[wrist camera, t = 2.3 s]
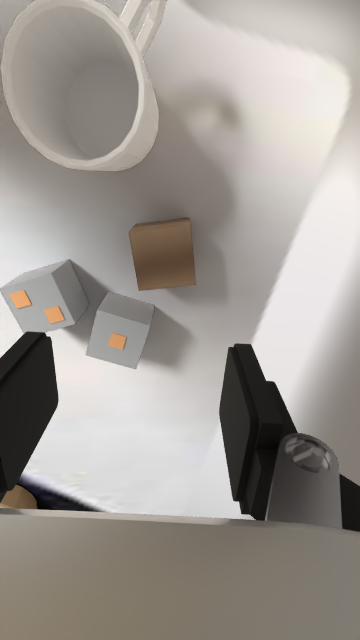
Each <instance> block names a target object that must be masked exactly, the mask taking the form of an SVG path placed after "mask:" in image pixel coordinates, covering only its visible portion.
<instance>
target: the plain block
mask: <svg viewBox="0 0 360 640" xmlns="http://www.w3.org/2000/svg"><path fill="white" fill-rule="evenodd" d="M129 237H130V243H131V248H132V254H133V260H134V266H135V271H136V277H137V283H138V289H139V291H142V290H152V289H161V288H171V287H180V286H190V285H196V280H195V269H194V258H193V248H192V237H191V226H190V220H189V218H183V219H174V220H165V221H157V222H148V223H139V224H136V225H135V226H134V227H133V228H132V229H131V231H130V232H129Z"/></svg>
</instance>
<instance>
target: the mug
mask: <svg viewBox="0 0 360 640" xmlns="http://www.w3.org/2000/svg"><path fill="white" fill-rule="evenodd" d="M150 1H151V0H128V1H127V3H126V5H125V7H124V9H123V11H122V13H121V15H120V17H119V18H118V17H117V16H116V15H115V14H114V13H113V12H112V11H111V10H110V9H109V7H107V6H105V5H103V4H101V3H99V2H97V1H96V0H34V1H33V2H32V3H30V4H29V5H28V6H27V7H26V8H25V9H24V10H23V11H22V12H21V13H19V14H18V15H17V16H16V18H15V20H14V22H13V24H12V26H11V28H10V30H9V32H8V34H7V36H6V38H5V41H4V47H3V54H2V61H1V76H2V84H3V92H4V97H5V100H6V103H7V105H8V108H9V110H10V113H11V116H12V118H13V121H14V123H15V124H16V125H17V127H18V128H19V130H20V131H21V133H22V134H23V135H24V137H25V138H26V140H27V141H28V143H29V144H30V145H32V146H33V147H34V148H35V149H36V150H37V151H39V152H40V153H41V154H42V155H43V156H45V157H46V158H47V159H48V160H51V161H53V162H55V163H57V164H60V165H62V166H64V167H66V168H70V169H80V170H93V171H121V170H125V169H129V168H132V167H133V166H135V165H136V164H138V163H139V162H141V161H142V160H143V159H144V158H145V157H146V155H147V154H148V153H149V151H150V150H151V149H152V147H153V145H154V142H155V139H156V136H157V133H158V124H159V110H158V106H157V101H156V97H155V93H154V90H153V87H152V84H151V81H150V78H149V75H148V72H147V69H146V66H145V62H144V59H143V56H144V55H145V53H146V51H147V49H148V48H149V46H150V43H151V41H152V39H153V37H154V35H155V33H156V31H157V29H158V27H159V25H160V23H161V20H162V16H163V13H164V9H165V5H166V2H167V0H152V1H151V6H150V10H149V12H148V15H147V17H146V19H145V21H144V24H143V26H142V28H141V30H140V32H139V35H138V37H137V39H136V40H134V38H133V37H132V35H131V34H132V32H133V30H134V28H135V26H136V24H137V22H138V20H139V19H140V17H141V15H142V13H143V11H144V9H145V8H146V7H147V5H148V4H149V3H150Z"/></svg>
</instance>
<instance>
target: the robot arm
mask: <svg viewBox="0 0 360 640" xmlns="http://www.w3.org/2000/svg"><path fill="white" fill-rule="evenodd" d="M57 405H58V390H57V382H56V374H55V365H54V357H53V349H52V341H51V338H50V337H48V336H46V334H45V333H44V332H31V331H27V332H25V333H24V334H23V336H22V337H21V338H20V339H19V340H18V341H17V342H16V343H15V344H14V345H13V346H12V347H11V348H10V349H9V350H8V351H7V352H6V353H5V354H4V355H3V356H2V357H1V358H0V503H1V502H2V500H3V498H4V496H5V494H6V493H7V491H11V490H13V489H14V487H15V485H16V484H17V482H18V480H19V478H20V476H21V474H22V472H23V470H24V468H25V467H26V465H27V463H28V461H29V459H30V457H31V455H32V453H33V451H34V450H35V448H36V446H37V444H38V442H39V440H40V438H41V436H42V435H43V433H44V431H45V429H46V427H47V425H48V423H49V421H50V419H51V418H52V416H53V414H54V412H55V410H56V408H57ZM219 415H220V422H221V428H222V435H223V441H224V447H225V453H226V459H227V466H228V472H229V478H230V485H231V490H232V497H233V501H239V503H240V509H241V514H249V515H251V516H252V517H253V518H254V519H256V520H244V519H227V518H206V517H187V516H168V515H148V514H127V513H105V512H83V511H60V510H37V509H13V508H0V640H360V486H358V485H357V484H355V483H354V482H352V481H350V480H349V479H347V478H346V477H344V476H342V475H341V474H339V464H338V460H337V457H336V455H335V454H334V452H333V451H332V449H330V448H329V447H328V446H327V445H326V444H325V443H323V442H322V441H321V440H319V439H317V438H315V437H312V436H310V435H306V434H302V433H298V432H297V430H296V428H295V426H294V423H293V421H292V419H291V417H290V415H289V412H288V410H287V408H286V406H285V403H284V401H283V399H282V397H281V395H280V393H279V390H278V388H277V386H276V384H275V383H274V382H272V381H266V380H265V377H264V375H263V372H262V370H261V367H260V365H259V362H258V360H257V358H256V355H255V353H254V350H253V348H252V346H251V344H236V343H235V344H234V347H229V349H228V354H227V361H226V367H225V374H224V381H223V388H222V394H221V401H220V409H219Z"/></svg>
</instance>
